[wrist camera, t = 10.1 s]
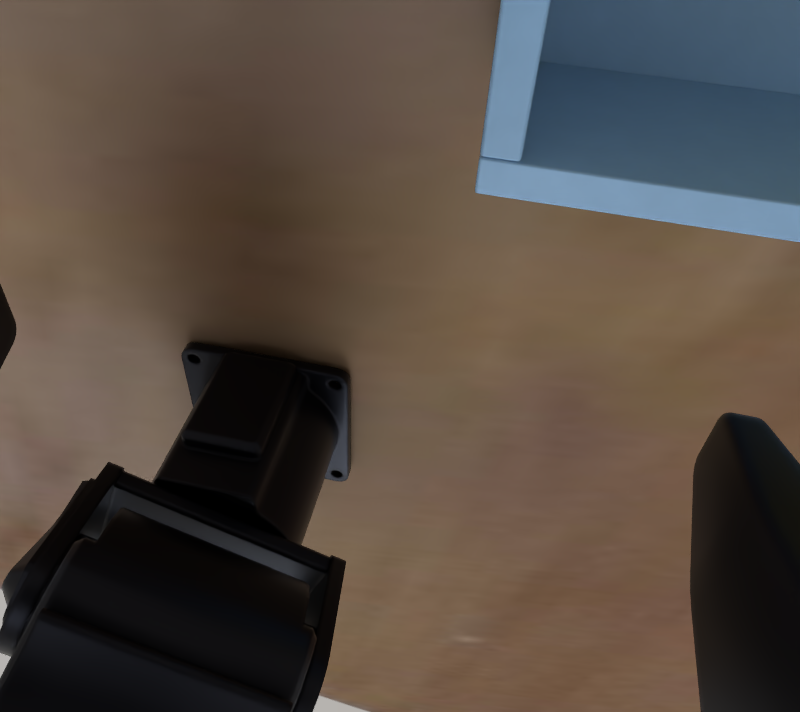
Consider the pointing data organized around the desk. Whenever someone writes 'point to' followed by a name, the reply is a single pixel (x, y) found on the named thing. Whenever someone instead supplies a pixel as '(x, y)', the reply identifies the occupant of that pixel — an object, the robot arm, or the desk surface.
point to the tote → (649, 110)
